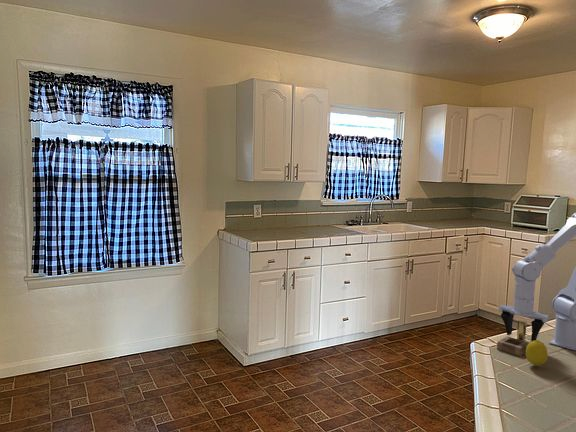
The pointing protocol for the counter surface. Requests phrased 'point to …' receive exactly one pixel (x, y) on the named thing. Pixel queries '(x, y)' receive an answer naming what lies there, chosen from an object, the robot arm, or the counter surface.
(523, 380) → the counter surface
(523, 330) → the brass pin
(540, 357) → the lemon
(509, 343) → the socket block
